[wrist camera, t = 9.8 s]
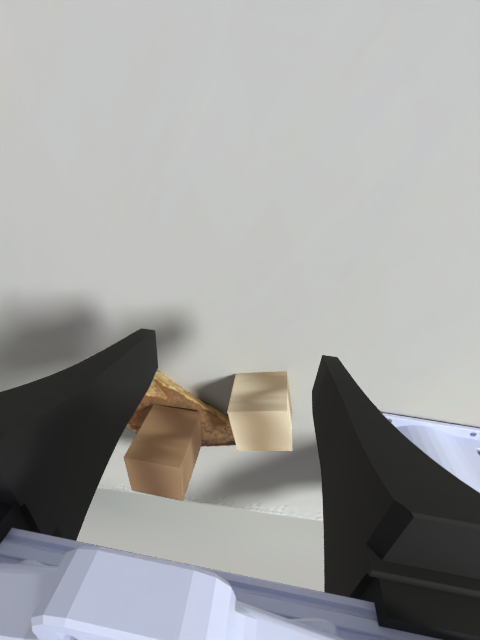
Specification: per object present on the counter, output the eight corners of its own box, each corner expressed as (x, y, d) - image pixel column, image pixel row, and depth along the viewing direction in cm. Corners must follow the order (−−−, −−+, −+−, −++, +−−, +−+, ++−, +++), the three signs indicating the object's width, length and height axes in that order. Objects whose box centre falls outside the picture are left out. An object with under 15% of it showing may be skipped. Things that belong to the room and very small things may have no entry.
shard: (264, 430, 30) (262, 448, 28) (213, 466, 34) (209, 484, 33) (156, 359, 27) (146, 374, 25) (115, 408, 32) (105, 424, 30)
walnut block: (200, 412, 27) (179, 468, 22) (201, 444, 29) (183, 500, 24) (153, 404, 27) (123, 457, 23) (158, 436, 29) (131, 490, 25)
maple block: (287, 370, 25) (287, 410, 21) (291, 408, 27) (292, 450, 23) (236, 373, 26) (227, 411, 22) (244, 409, 28) (237, 450, 24)
